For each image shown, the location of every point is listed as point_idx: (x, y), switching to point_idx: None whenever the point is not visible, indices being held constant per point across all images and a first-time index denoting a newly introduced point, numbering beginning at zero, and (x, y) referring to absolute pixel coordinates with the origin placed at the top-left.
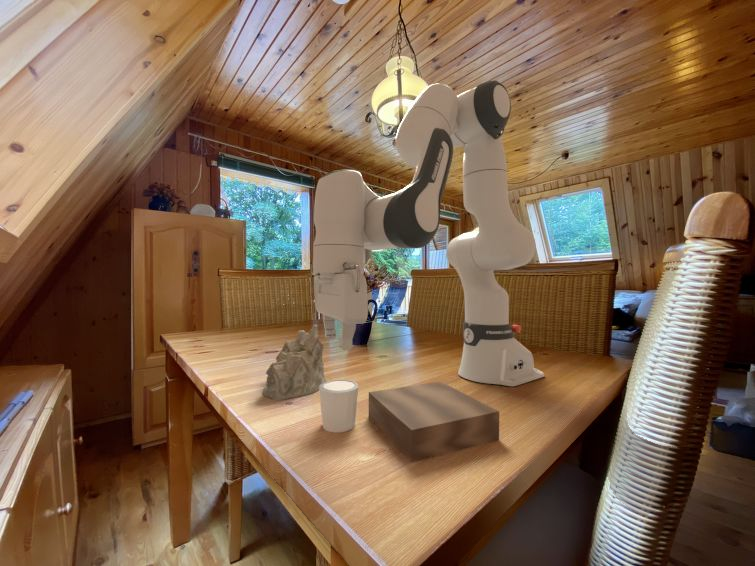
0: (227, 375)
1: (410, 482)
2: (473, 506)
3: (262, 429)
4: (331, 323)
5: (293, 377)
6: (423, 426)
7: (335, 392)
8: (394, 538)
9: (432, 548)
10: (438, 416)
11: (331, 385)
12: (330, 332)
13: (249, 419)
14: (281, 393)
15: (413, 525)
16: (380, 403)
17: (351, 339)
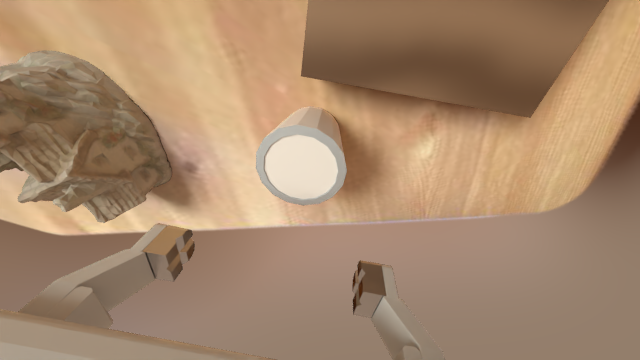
0: (29, 209)
1: (520, 132)
2: (634, 95)
3: (273, 219)
4: (113, 280)
5: (130, 171)
6: (547, 84)
7: (336, 192)
8: (551, 195)
9: (595, 177)
10: (561, 3)
11: (290, 180)
12: (177, 263)
13: (236, 223)
14: (161, 177)
15: (562, 173)
16: (378, 89)
17: (397, 296)
